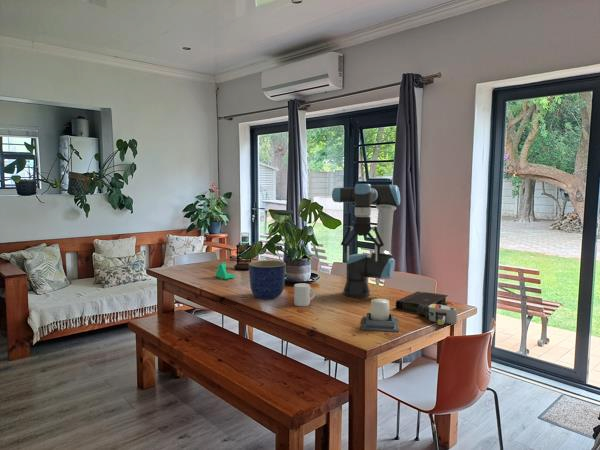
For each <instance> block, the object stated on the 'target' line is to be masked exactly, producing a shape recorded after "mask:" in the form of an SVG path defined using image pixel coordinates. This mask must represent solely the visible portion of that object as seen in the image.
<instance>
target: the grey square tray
mask: <svg viewBox="0 0 600 450" xmlns="http://www.w3.org/2000/svg"><path fill="white" fill-rule="evenodd" d="M360 326H361V327H360V328H361V330H362V331H376V332H377V331H378V332H394V333H395V332H396V333H399V332H400V328H399V327H400V326H399V321H398V318H397V317H394V313H389V321H374V320H371V312H366V316H362V319H361V325H360Z"/></svg>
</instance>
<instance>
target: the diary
mask: <svg viewBox="0 0 600 450" xmlns="http://www.w3.org/2000/svg"><path fill="white" fill-rule="evenodd" d="M447 297H449V295H447V294H443V293H435V292H426V291H416V292H414V293H412V294H409V295H406V296H405V297H403V298H400V299H397V300H396V301H395V309H396V310H399V311H406V312H411V313H417V308H418V306H419V304H423V305H425V306H429V305H431V304H439V305H445V306H448V305H449V304H448V303H447V302H446V300H447V299H446V298H447ZM417 314H418V313H417Z"/></svg>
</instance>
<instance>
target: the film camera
mask: <svg viewBox="0 0 600 450" xmlns="http://www.w3.org/2000/svg"><path fill="white" fill-rule="evenodd" d="M417 314H418V316H426V319H428V321H431V322H434V323H437V325H438V326H440V325H442V326H443V325H444V324H449V325H450V324H451V325H457V323H458V309H457V308H456V307H453V306H449V305H446V306H445V305H439V304H431V305H429V306H425V305H423V304H419V306H418V308H417Z"/></svg>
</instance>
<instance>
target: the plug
mask: <svg viewBox="0 0 600 450" xmlns="http://www.w3.org/2000/svg"><path fill="white" fill-rule="evenodd" d="M370 313H371V320H374V321H389V314H390V301H389V300H388V299H384V298H373V299H371V301H370Z"/></svg>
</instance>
